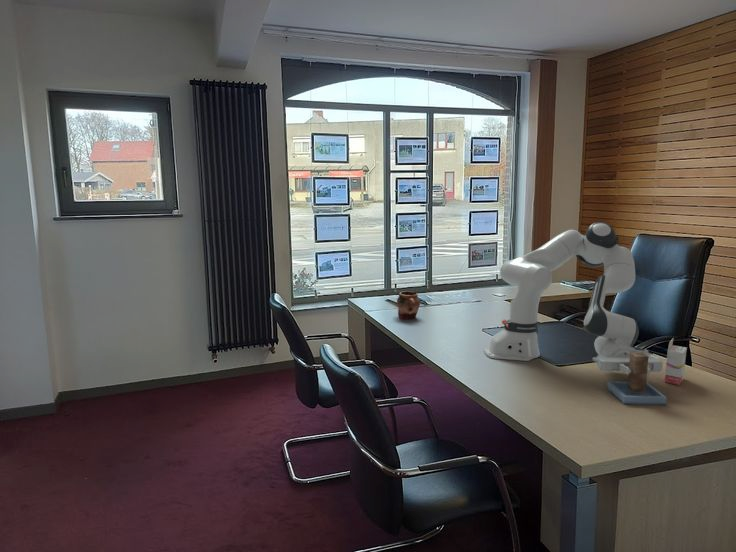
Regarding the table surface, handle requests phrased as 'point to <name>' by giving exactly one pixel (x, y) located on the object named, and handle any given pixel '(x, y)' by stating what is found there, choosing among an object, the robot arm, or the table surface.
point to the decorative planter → (408, 305)
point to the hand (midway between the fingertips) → (639, 371)
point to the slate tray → (636, 394)
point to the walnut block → (638, 372)
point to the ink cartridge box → (675, 364)
